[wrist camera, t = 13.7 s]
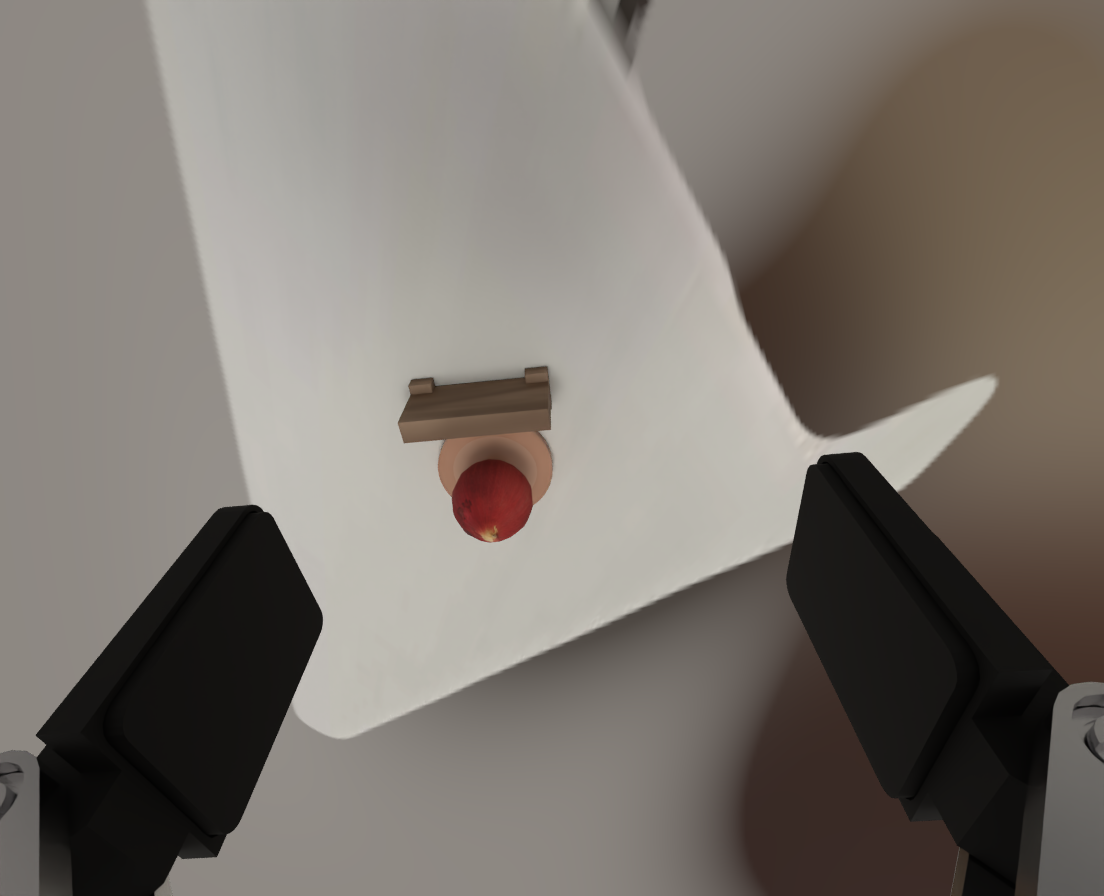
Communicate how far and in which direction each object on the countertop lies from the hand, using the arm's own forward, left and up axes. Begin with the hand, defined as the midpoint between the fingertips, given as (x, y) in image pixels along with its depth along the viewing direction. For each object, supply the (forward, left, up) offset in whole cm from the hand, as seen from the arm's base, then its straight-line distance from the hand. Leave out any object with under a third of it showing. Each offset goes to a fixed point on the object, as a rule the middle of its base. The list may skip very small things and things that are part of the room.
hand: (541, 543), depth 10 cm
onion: (+17, -6, -27) cm, 33 cm away
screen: (+11, -6, -28) cm, 31 cm away
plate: (+18, -6, -28) cm, 34 cm away
